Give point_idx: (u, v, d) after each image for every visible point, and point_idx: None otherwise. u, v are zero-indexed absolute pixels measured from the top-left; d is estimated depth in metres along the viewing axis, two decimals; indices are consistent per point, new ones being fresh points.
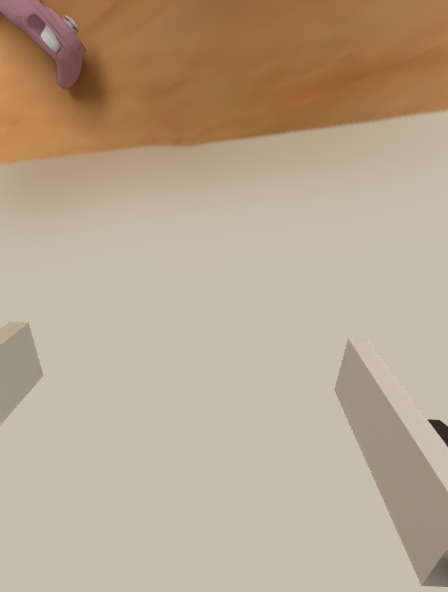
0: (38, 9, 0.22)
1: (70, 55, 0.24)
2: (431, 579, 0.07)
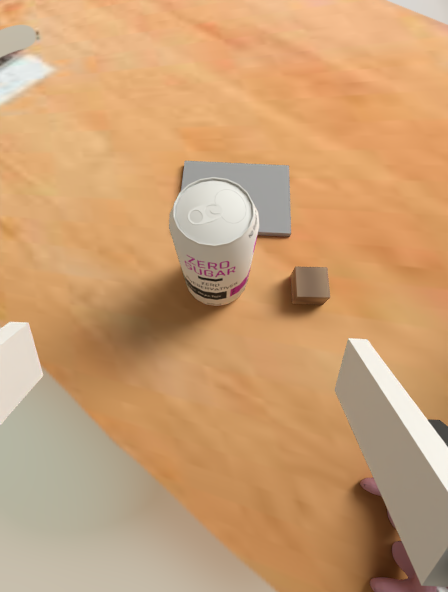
0: None
1: None
2: (431, 579, 0.07)
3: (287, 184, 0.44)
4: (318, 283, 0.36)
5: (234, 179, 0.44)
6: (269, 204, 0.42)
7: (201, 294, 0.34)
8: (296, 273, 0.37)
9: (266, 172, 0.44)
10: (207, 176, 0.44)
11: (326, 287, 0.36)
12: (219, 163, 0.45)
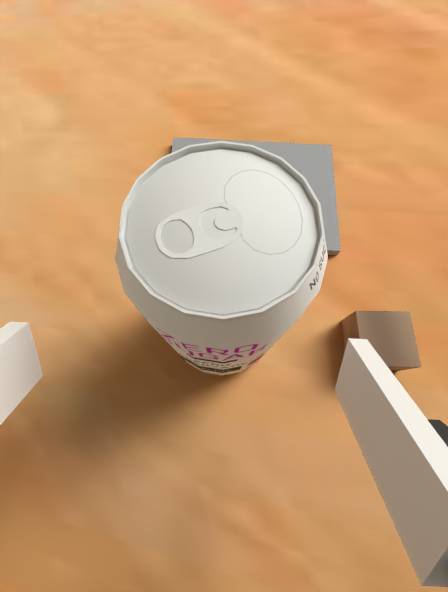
0: None
1: None
2: (431, 579, 0.07)
3: (330, 173, 0.28)
4: (397, 340, 0.21)
5: None
6: None
7: (196, 365, 0.19)
8: (358, 323, 0.21)
9: (297, 155, 0.29)
10: None
11: (412, 348, 0.21)
12: (226, 141, 0.30)
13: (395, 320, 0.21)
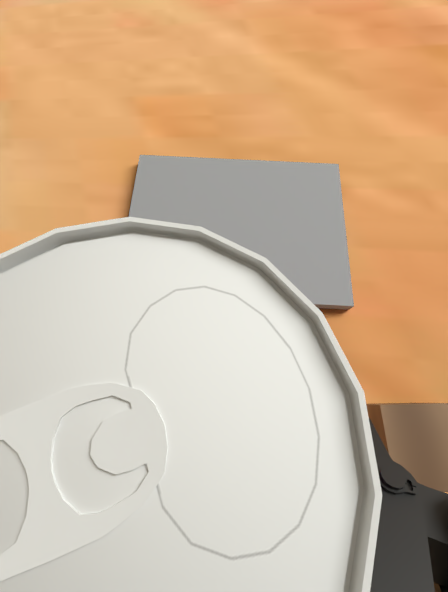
0: None
1: None
2: None
3: (338, 200, 0.22)
4: (441, 450, 0.15)
5: (234, 191, 0.22)
6: (305, 242, 0.21)
7: None
8: (384, 423, 0.15)
9: (296, 177, 0.23)
10: (182, 185, 0.23)
11: None
12: (205, 160, 0.23)
13: (435, 417, 0.15)
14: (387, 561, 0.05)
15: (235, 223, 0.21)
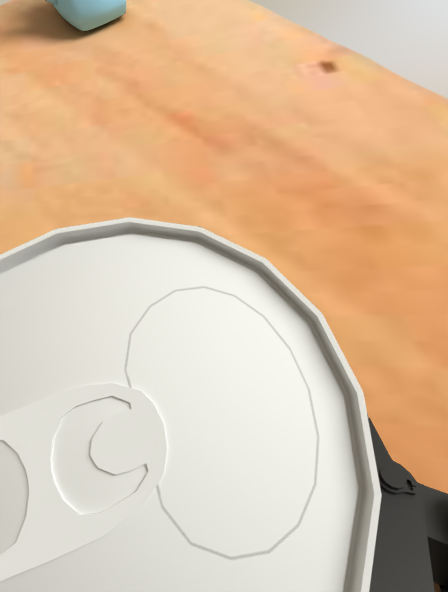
0: None
1: None
2: None
3: None
4: None
5: None
6: None
7: None
8: None
9: None
10: None
11: None
12: None
13: None
14: (387, 561, 0.05)
15: None
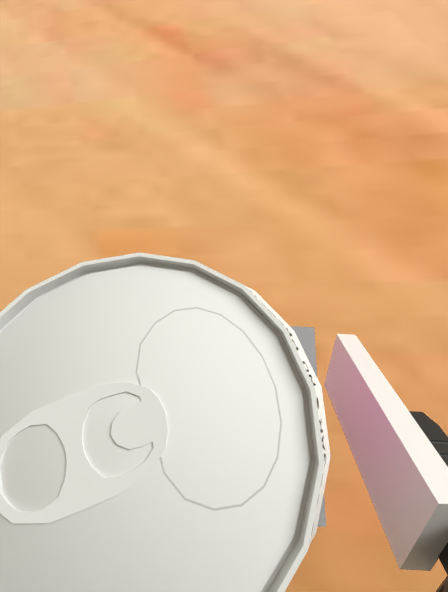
0: None
1: None
2: (409, 562, 0.07)
3: None
4: None
5: None
6: None
7: None
8: None
9: None
10: None
11: None
12: None
13: None
14: None
15: None
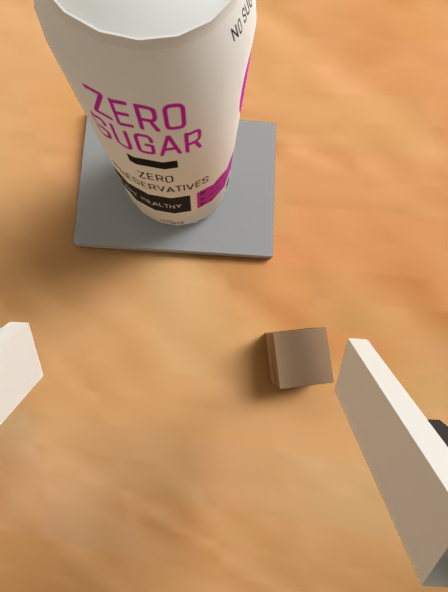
0: None
1: None
2: (431, 579, 0.07)
3: (271, 161, 0.25)
4: (313, 359, 0.21)
5: None
6: (238, 199, 0.25)
7: (147, 203, 0.20)
8: (275, 345, 0.21)
9: (236, 135, 0.25)
10: None
11: (326, 364, 0.21)
12: None
13: (311, 338, 0.22)
14: None
15: None
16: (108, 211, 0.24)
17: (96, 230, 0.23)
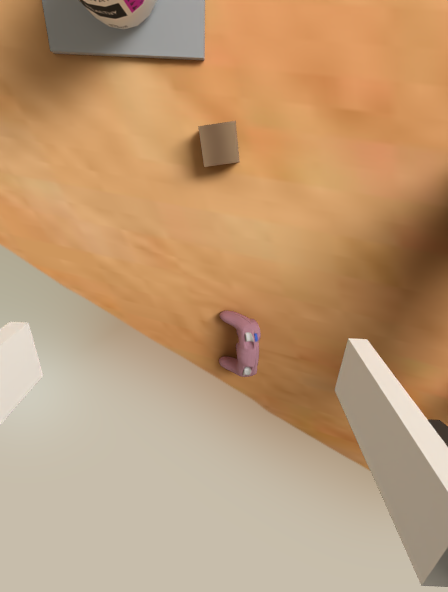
0: (254, 366, 0.42)
1: (245, 376, 0.44)
2: (431, 579, 0.07)
3: None
4: (226, 145, 0.32)
5: None
6: None
7: (92, 10, 0.26)
8: (200, 136, 0.32)
9: None
10: None
11: (235, 149, 0.32)
12: None
13: (225, 129, 0.31)
14: None
15: None
16: (69, 16, 0.29)
17: (64, 37, 0.30)
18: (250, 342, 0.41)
